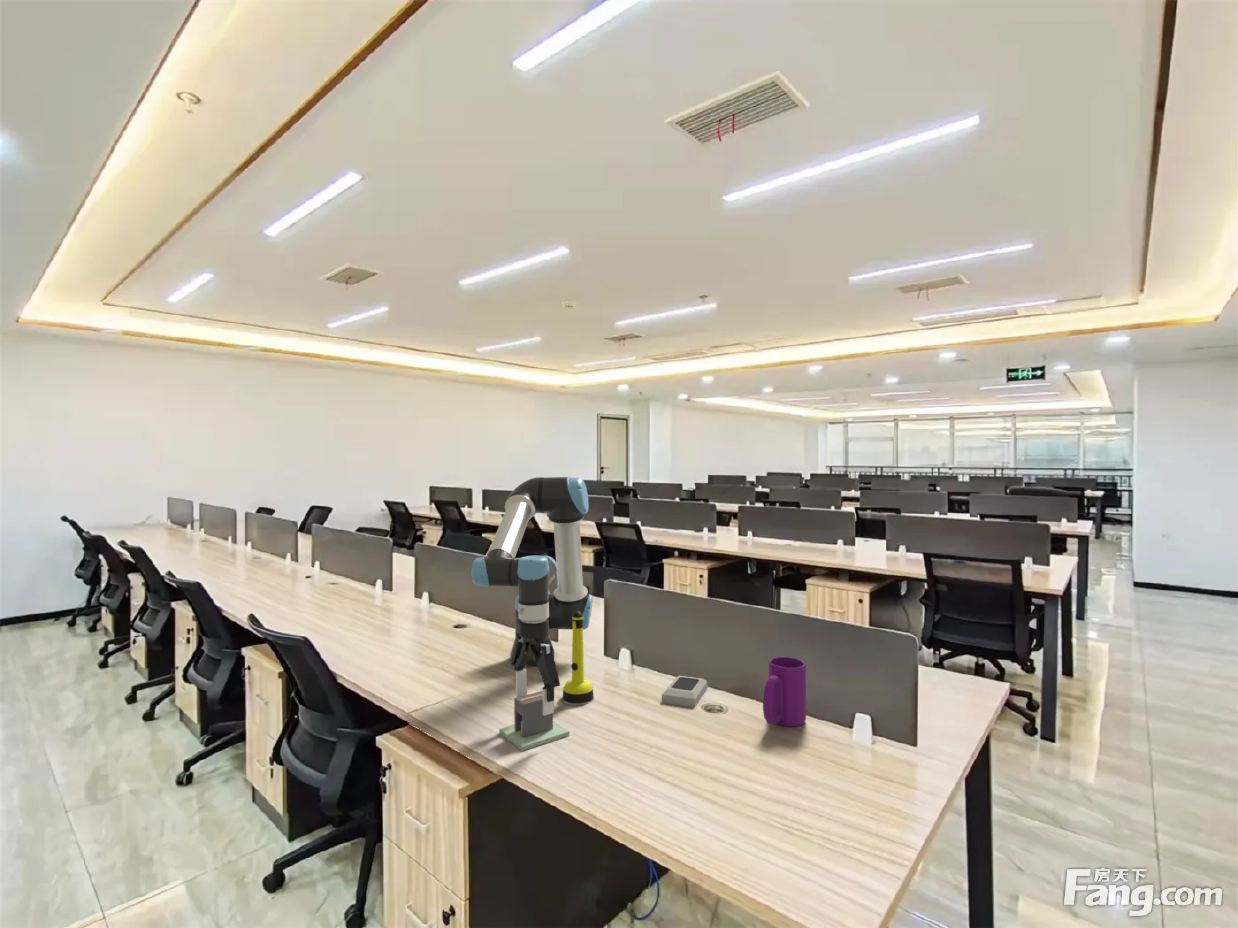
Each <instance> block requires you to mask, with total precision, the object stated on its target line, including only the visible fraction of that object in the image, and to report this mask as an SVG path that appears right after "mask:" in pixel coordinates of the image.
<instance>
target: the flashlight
mask: <svg viewBox="0 0 1238 928" xmlns="http://www.w3.org/2000/svg"><path fill="white" fill-rule="evenodd" d="M572 619H573V630H572V639H571V641H572V645H571V646H572V647H571V648H572V650H571V651H572V655H571V659H572V660H571V661H572V662H571V667H570V668H571V679H568V680H567V681H566V682H565V683H564V686H563V688H562V689H563V690H562V698H561V699H562V702H563V703H565V704H567V705H572V706H583V705H587V704H590V703H592V702H593V701H594V698H595V697H594V688H593V684H592V683H591V681H590V680H588V679H586V678H585V660H584V658H585V657H584V629H583V615H582V614H581V613H580V612H579V611H576V612H575V613H574V615H573V616H572Z"/></svg>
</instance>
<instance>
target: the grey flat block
mask: <svg viewBox="0 0 1238 928" xmlns="http://www.w3.org/2000/svg"><path fill="white" fill-rule="evenodd" d="M707 690H708V681H707V680H706V679H704V678H701V677H692V676H684V675H678V676H676V677H675V678H674V680H673V681H672V682H671V683H670V685H669V686H668V687H666V689H665V690H664V692H663V693H662V694H661V703H663V704H668V705H669V704H670V705H676V706H682V707H683V706H684V707H689V708H696V707H697V706H698V704H699V702H700V701H701V699H702V697H703V696H704V695H705V693H706V692H707Z"/></svg>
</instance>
